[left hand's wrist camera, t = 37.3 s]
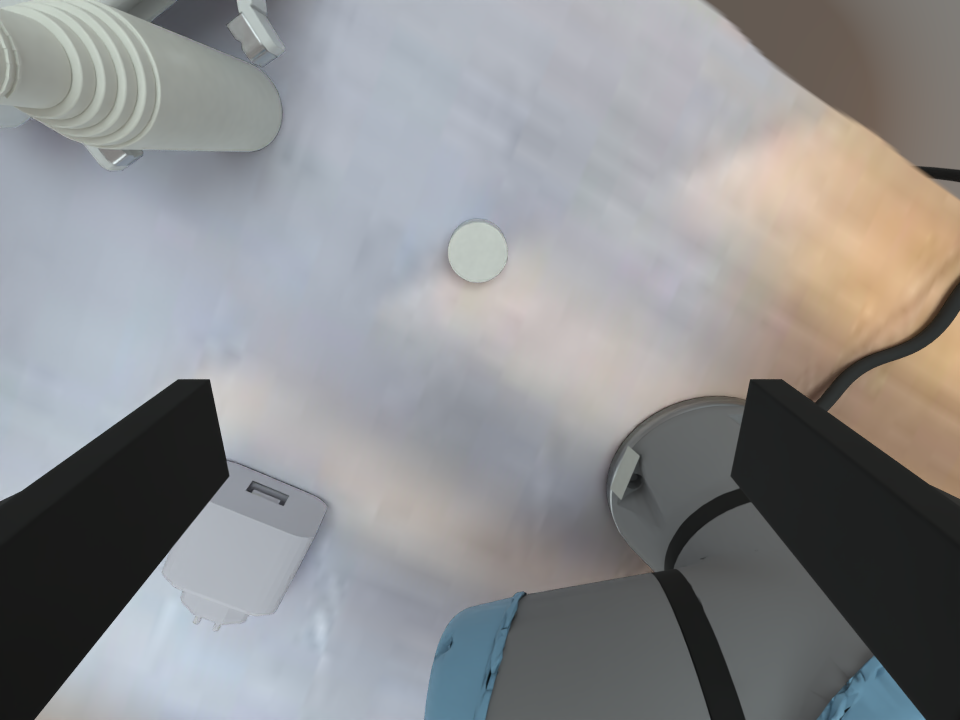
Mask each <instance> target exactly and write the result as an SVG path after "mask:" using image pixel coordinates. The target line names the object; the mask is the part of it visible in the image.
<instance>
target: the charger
mask: <svg viewBox="0 0 960 720" xmlns="http://www.w3.org/2000/svg"><path fill="white" fill-rule="evenodd" d="M227 466H228V470H229V475H230V476H229V478H228V479H227V480H226V481H225V483H224V484H223V485H222V486H221V488H220V489H219V490H218V491H217V493H216V494H215V495H214V496H213V498H212V499H211V500H210V501H209V503H208V504H207V505H206V506H205V508H204V509H203V510H202V511H201V513H200V514H199V515H198V516H197V518H196V519H195V520H194V521H193V522H192V524H191V525H190V526H189V527H188V529H187V530H186V531H185V532H184V534H183V535H182V536H181V537H180V539H179V540H178V541H177V542H176V544H175V545H174V546H173V547H172V549H171V550H170V552H169V554H168V557H167V559H166V562H165V564H164V567H163V569H162V574H163V576H164V577H165V578H166V579H167V580H168V581H169V582H170V583H171V584H172V585H173V586H174V587H175V588H177V589H179V590H182V591H183V592H182V595H181V597H180V598H181V601H182V603H183V604H184V606H185V607H186V608H187V609H188V610H189V611H190V612H191V613H192V614H193V615H195V618H194V620H193V623H194V624H199V623H200V620H201V618H203V619H206V620H209V621H212V622H215V624H214V627H213V630H214V631H218V630H219V629H220V626H221V625H228V624H241V623H243V622H245V621H246V620H247V618H248V616H249V615H251V616H263V615H271V614H273V613H275V612H276V610H277V608H278V606H279V604H280V603H281V601H282V599H283V597H284V595H285V593H286V591H287V589H288V587H289V585H290V583H291V581H292V580H293V578H294V576H295V574H296V572H297V570H298V568H299V566H300V564H301V562H302V560H303V559H304V557H305V555H306V553H307V551H308V549H309V547H310V545H311V543H312V541H313V539H314V537H315V536H316V533H317V531H318V529H319V526H320V524H321V522H322V519H323V517H324V515H325V512H326V510H327V506H326V504H325V503H324V502H323V501H322V500H320V499H319V498H317V497H316V496H314V495H311V494H309V493H307V492H305V491H302V490H300V489H297V488H295V487H293V486H290V485H288V484H285V483H283V482H281V481H278V480H276V479H273V478H271V477H269V476H266V475H264V474H261V473H259V472H257V471H254V470H252V469H249V468H247V467H245V466H242V465H240V464H237V463H233V462H229V461H227Z"/></svg>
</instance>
